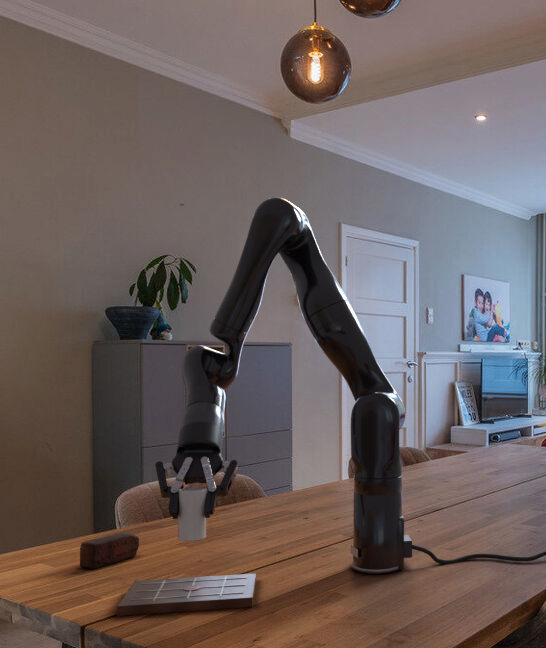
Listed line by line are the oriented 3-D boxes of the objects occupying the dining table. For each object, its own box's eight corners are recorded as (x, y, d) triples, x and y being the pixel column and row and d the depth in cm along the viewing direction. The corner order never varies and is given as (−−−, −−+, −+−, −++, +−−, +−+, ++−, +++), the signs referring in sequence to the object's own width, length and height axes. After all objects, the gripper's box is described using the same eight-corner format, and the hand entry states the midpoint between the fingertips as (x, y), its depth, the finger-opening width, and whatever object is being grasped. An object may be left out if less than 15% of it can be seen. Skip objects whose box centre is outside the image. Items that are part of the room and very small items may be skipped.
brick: (94, 570, 134) (95, 544, 135) (78, 567, 136) (79, 542, 136) (139, 556, 144) (139, 532, 144) (124, 553, 146) (125, 530, 146)
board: (256, 582, 128) (256, 572, 128) (252, 607, 115) (252, 596, 115) (134, 589, 124) (134, 579, 124) (116, 616, 111) (117, 605, 111)
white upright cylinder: (207, 534, 123) (208, 486, 123) (204, 540, 118) (205, 491, 119) (180, 535, 122) (181, 487, 122) (175, 541, 118) (177, 492, 118)
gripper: (157, 420, 127) (141, 504, 114) (242, 419, 130) (235, 501, 117) (161, 447, 132) (147, 530, 119) (243, 445, 135) (237, 526, 122)
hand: (191, 515), depth 118 cm, fingers closed on white upright cylinder, 4 cm apart
